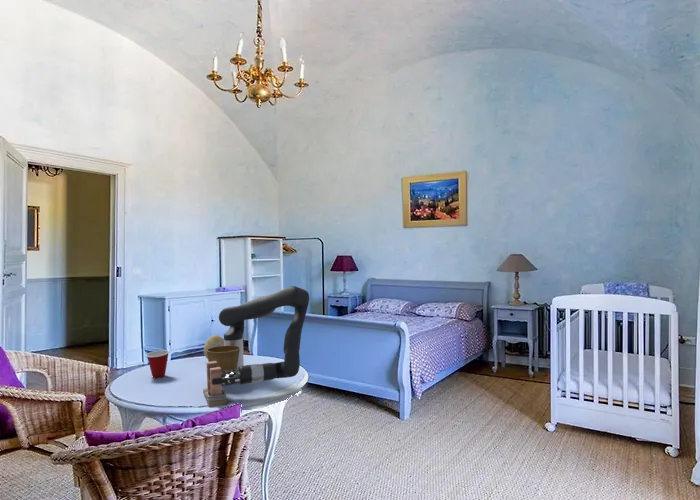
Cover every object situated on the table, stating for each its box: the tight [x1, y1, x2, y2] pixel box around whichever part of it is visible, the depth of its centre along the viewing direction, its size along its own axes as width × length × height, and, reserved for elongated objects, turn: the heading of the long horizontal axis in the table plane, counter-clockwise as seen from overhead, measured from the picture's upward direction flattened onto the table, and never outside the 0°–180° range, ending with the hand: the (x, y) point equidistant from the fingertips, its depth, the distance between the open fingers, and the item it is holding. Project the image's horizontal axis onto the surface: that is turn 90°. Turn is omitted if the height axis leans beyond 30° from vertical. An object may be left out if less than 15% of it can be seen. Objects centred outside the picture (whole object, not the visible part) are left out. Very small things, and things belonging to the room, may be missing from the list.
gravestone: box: [202, 361, 228, 408], centre depth 192 cm, size 21×7×14 cm, turn 23°
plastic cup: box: [145, 349, 170, 378], centre depth 230 cm, size 11×11×12 cm
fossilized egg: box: [203, 334, 224, 360], centre depth 257 cm, size 13×13×15 cm
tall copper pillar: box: [210, 367, 223, 396], centre depth 187 cm, size 4×4×12 cm
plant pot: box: [207, 346, 240, 386], centre depth 214 cm, size 15×15×16 cm
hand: (211, 379), depth 186 cm, fingers open, 8 cm apart
